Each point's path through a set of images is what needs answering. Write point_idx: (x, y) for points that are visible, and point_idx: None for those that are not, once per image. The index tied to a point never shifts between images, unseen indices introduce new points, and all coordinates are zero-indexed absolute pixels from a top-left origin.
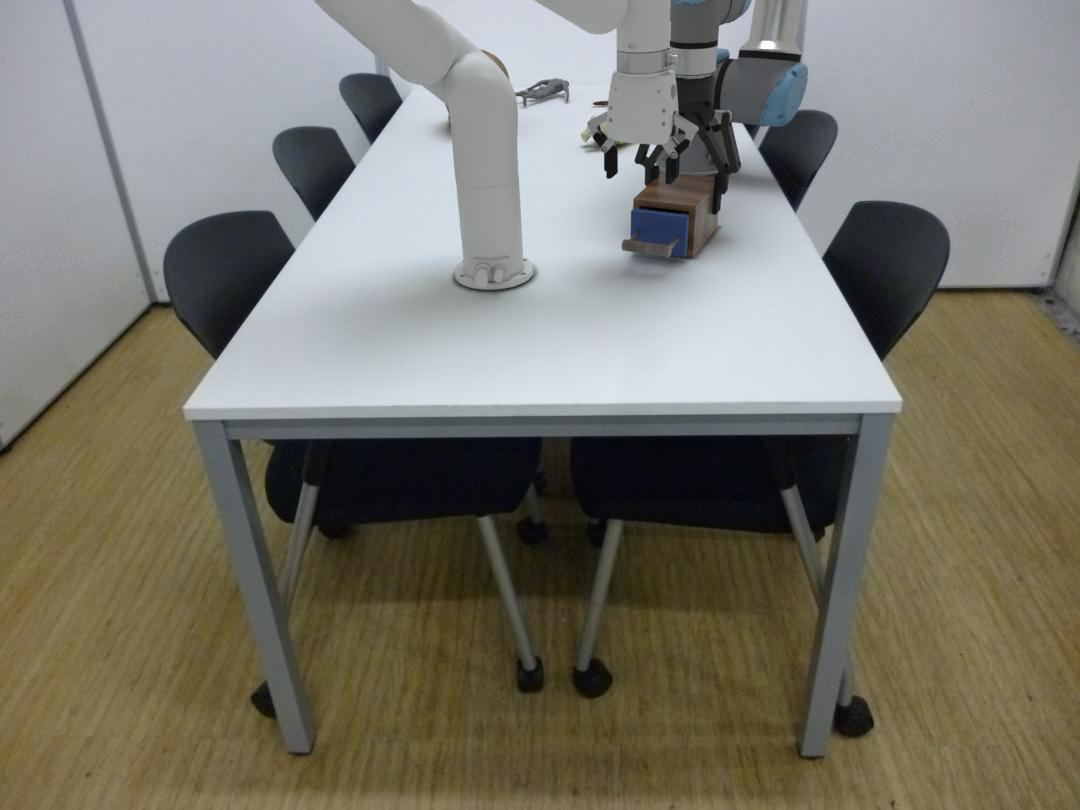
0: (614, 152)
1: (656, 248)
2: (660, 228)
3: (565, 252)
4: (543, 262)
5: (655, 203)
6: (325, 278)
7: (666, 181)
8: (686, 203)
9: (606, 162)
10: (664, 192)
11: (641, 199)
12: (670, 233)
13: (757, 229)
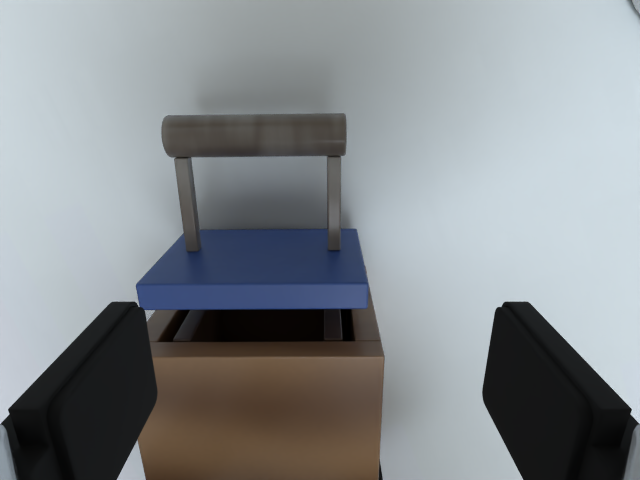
0: (561, 472)
1: (209, 118)
2: (250, 259)
3: (552, 182)
4: (604, 81)
5: (289, 351)
6: None
7: (126, 306)
8: (164, 367)
9: (581, 360)
10: (291, 444)
11: (348, 357)
12: (215, 254)
13: (121, 470)
